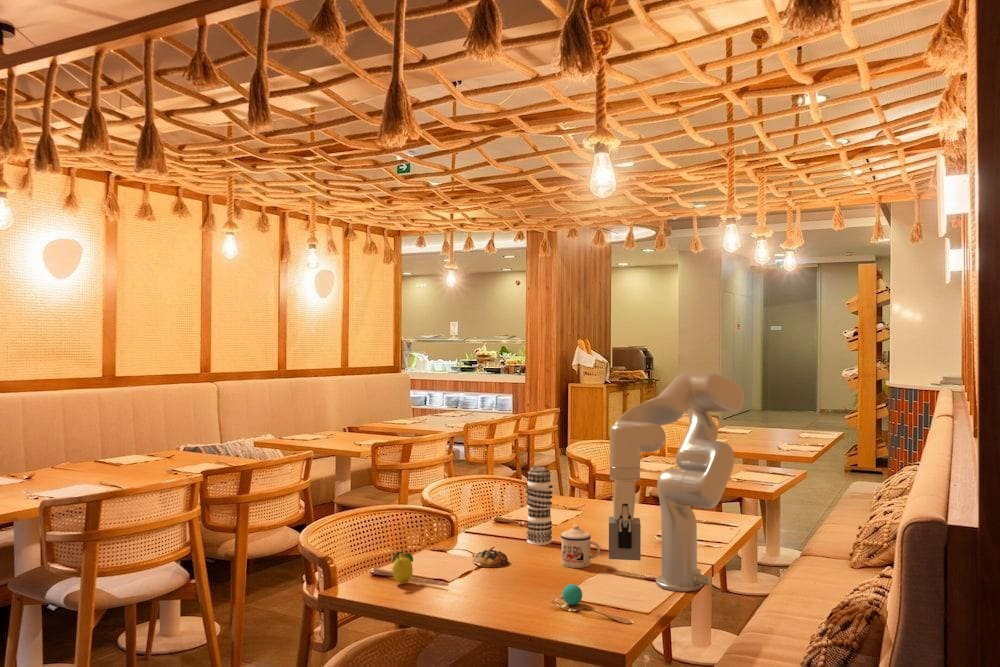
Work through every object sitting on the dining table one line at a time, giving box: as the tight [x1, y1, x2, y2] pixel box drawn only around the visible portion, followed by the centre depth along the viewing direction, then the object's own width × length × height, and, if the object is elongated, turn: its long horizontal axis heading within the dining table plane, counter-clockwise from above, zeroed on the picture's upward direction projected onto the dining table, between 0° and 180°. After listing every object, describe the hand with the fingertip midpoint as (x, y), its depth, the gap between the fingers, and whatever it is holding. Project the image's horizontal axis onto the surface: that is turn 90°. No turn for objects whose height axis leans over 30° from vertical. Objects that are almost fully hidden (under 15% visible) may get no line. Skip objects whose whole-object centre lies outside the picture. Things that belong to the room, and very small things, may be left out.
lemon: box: [391, 547, 414, 585], centre depth 206 cm, size 7×6×10 cm
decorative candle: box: [525, 466, 554, 546], centre depth 254 cm, size 9×9×25 cm
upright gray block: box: [608, 516, 642, 561], centre depth 188 cm, size 8×8×9 cm
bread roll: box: [472, 549, 509, 569], centre depth 228 cm, size 11×11×5 cm
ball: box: [562, 583, 583, 606], centre depth 189 cm, size 5×5×5 cm
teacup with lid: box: [560, 524, 601, 569], centre depth 226 cm, size 12×9×12 cm
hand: (624, 543), depth 187 cm, fingers closed on upright gray block, 7 cm apart
